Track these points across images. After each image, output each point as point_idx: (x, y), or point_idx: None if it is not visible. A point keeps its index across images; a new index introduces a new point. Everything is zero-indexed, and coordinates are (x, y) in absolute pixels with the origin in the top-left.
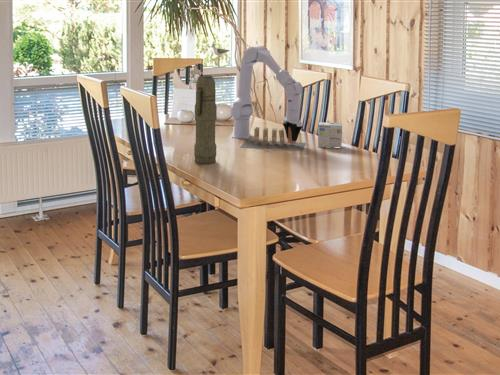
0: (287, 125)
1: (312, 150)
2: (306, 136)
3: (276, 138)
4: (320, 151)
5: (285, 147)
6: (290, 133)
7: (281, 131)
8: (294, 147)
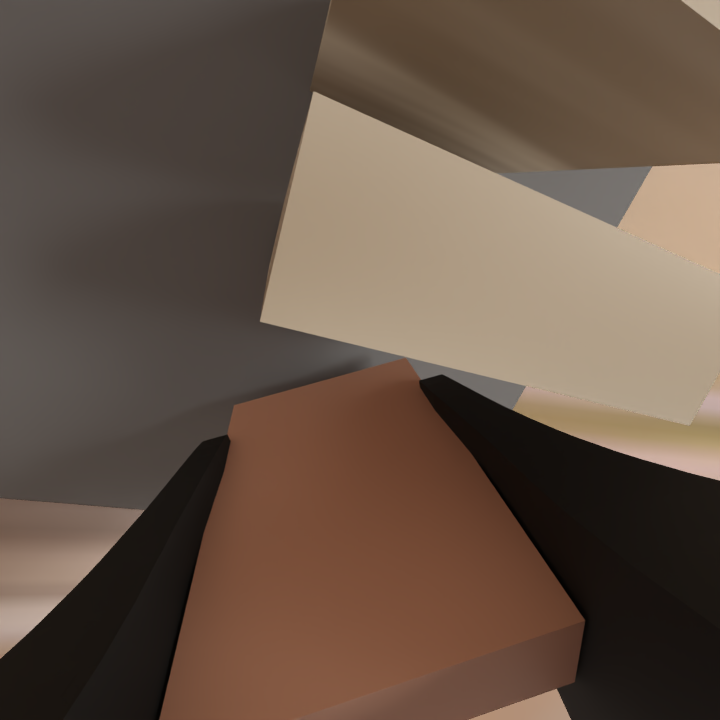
0: (649, 671)
1: (60, 572)
2: None
3: (543, 168)
4: (23, 630)
5: (140, 267)
6: (344, 506)
7: (271, 265)
8: (167, 405)
